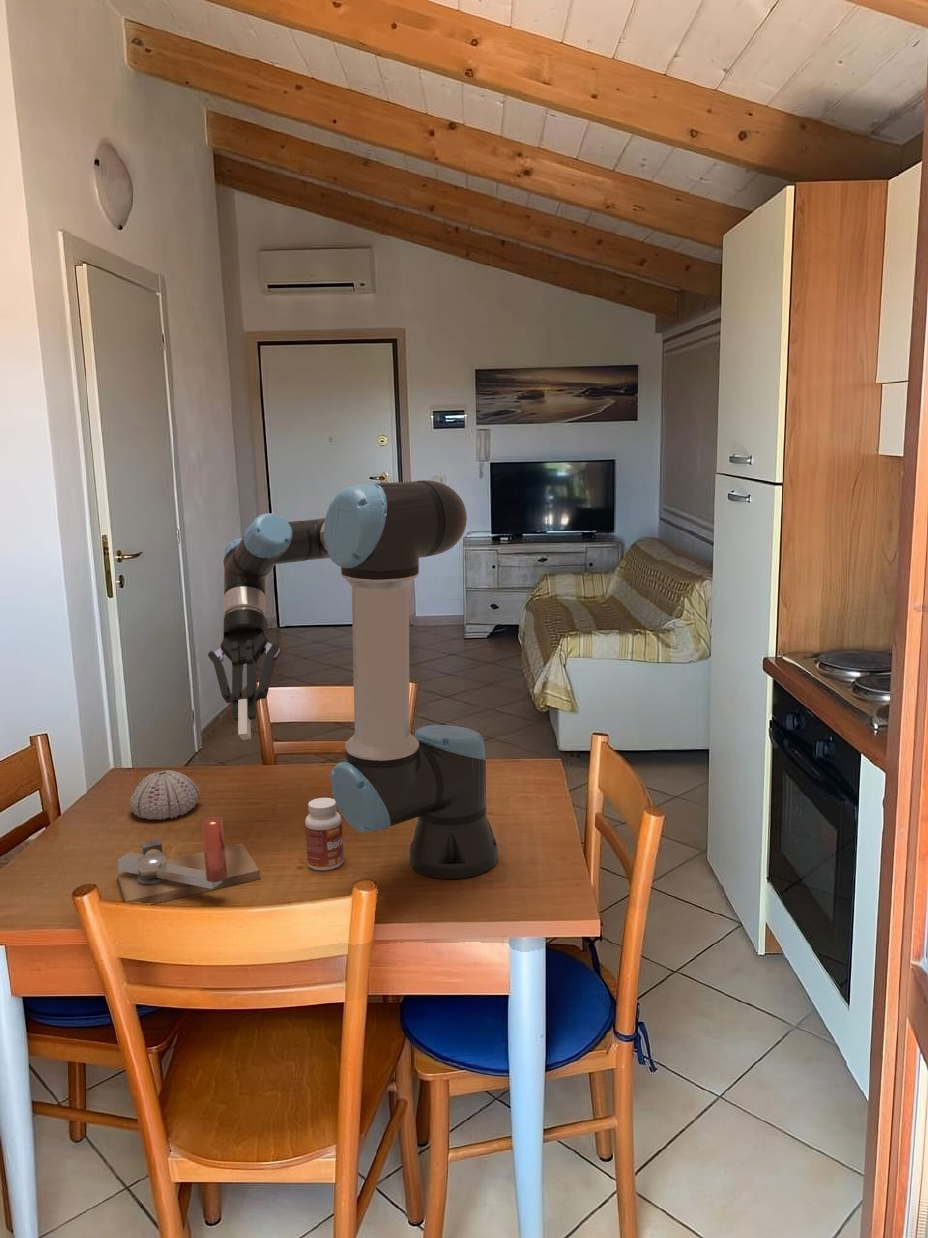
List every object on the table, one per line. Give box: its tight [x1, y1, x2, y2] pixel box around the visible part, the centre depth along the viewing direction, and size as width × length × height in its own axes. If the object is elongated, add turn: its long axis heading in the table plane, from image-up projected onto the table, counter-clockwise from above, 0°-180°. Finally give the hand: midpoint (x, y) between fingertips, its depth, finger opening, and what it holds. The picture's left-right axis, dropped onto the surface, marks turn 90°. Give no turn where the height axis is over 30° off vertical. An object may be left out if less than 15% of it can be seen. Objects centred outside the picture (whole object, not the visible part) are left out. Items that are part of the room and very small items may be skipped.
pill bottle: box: [304, 797, 345, 871], centre depth 159 cm, size 6×6×11 cm
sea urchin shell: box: [128, 769, 201, 821], centre depth 185 cm, size 13×14×8 cm
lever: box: [116, 816, 227, 889], centre depth 151 cm, size 21×4×11 cm, turn 66°
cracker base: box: [116, 838, 261, 904], centre depth 157 cm, size 21×14×4 cm
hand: (244, 736), depth 162 cm, fingers closed
